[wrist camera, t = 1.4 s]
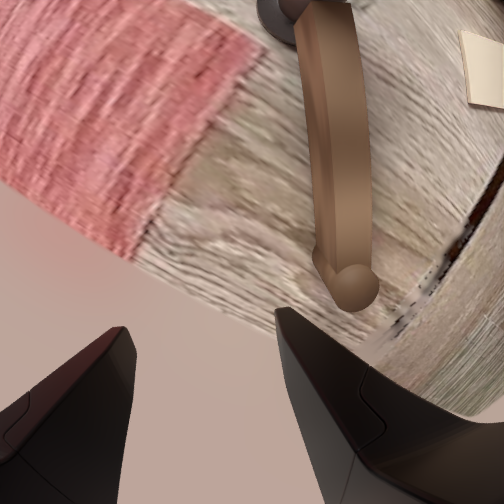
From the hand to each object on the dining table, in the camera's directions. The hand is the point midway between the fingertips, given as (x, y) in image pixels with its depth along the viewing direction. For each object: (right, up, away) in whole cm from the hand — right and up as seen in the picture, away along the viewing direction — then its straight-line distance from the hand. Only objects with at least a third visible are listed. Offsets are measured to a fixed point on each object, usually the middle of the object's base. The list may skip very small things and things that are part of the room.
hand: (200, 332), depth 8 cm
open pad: (+19, +16, +7) cm, 25 cm away
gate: (+5, +9, +7) cm, 13 cm away
